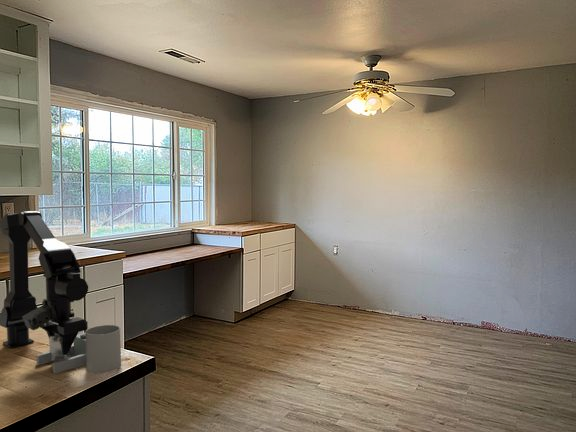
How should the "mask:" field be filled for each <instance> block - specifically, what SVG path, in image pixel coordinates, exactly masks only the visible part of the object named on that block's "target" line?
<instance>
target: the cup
mask: <svg viewBox="0 0 576 432" xmlns="http://www.w3.org/2000/svg"><path fill="white" fill-rule="evenodd" d="M84 333H85V334H86V364H85V365H86V371H87V372H88V373H90V374H106V373H111V372H113V371H117V370H118V369H120V368H121V366H122V346H121V345H122V344H121V343H122V342H121V341H122V340H121V327H120V326H119V325H115V324H114V325H113V324H104V325H103V324H102V325H97V326H93V327H90V328H88V329H87V330H85V332H84Z"/></svg>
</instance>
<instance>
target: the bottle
mask: <svg viewBox="0 0 576 432" xmlns="http://www.w3.org/2000/svg"><path fill="white" fill-rule="evenodd" d="M48 340H49V341H48V342H49V351H50V360H54V361H53V362H58V361H61V360H64V359H68V358H71V357H72V356H71V348H70V350H69V352H68V354H67V355H63V352H62V348H61V342H60V337H59V336H58V335H56V334H55V333H54V334H51V335H50V336H49V337H48Z"/></svg>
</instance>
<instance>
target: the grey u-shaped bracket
mask: <svg viewBox="0 0 576 432" xmlns="http://www.w3.org/2000/svg"><path fill="white" fill-rule="evenodd" d="M75 355H76V356H75ZM35 356H36V365H38V366H41V365H44V364H48V363H51V362H52V374H55V375H56V374H58V373H59V374H60V373H62V372H65V371H68V370H71V369H74V368H78V367H80V366H83V365H87V364H86V334H85V332H82V333H78V334H77V336H76V338H75V340H74V342H73V345H72V346H71V356H70V357H69V358H67V359H64V360H58V361H54V360H50V350H49V351H46V352H43V353H39V354H36V355H35Z"/></svg>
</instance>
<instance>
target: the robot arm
mask: <svg viewBox="0 0 576 432" xmlns="http://www.w3.org/2000/svg"><path fill="white" fill-rule="evenodd" d="M42 216H43V215H42V212H40V211H38V210H29V211H28V210H25V211H22V212H17V213H16V212H15V213H5V214H4V215H3V217H1V218H0V229H1V232H2V233H1V234H2V236H3V237H4V238H5V239H6V241H7V242H8V245H9V246H8V250H9V253H8V254H9V257H8V258H9V292H8V293H7V295H6V297H5V298H4V300H3V307H2V309H1V311H0V326H1V327H3V328H5V329H6V340H5V341H2V344H3V345H4V346H5V347H9V348H11V349H12V348H13V349H14V348H17V347H19V346H25V345H29V344H31V343H34V341H35V340H33V339H31V338H30V330H31V331H35V330H38V329H39V328H41V329H42V330H44V331H45V332H46V334H47V336H48V338H49V336H50V335H51V334H54V333H55V334H56V335H58V336H59V337H60V342H61V348H62V352H63V355H67V354H68V352H69V350H70V348H71V346H73V345H74V340H75V338H76V336H77V335H78V334H79V332H84V331H86V330H88V329H89V327H88V323H89V322H88V321H87V320H86V319H84V318H82V317H78V316H76V317H75V312H72V303H73V302H75V301H77V302H78V301H80V300H83V299H84V298H85V296H86V295H88V292H89V285H88V282H87V281H86V280H85V279H84V278H81V269H80V268H81V265H80V263H79V262H78V259H77V258H76V256H75V255H76V254H75V253H74V251H73V250H72V249H71V248H70V246H68V245H67V243H66V242H62V241H60V240H58V239H57V238H56V237H55V235H54V233H52V231H51V229H50V228H49V227H48V225H47V224H46V223H45V221H44V219H43V217H42ZM30 240H32V241H33V243H34V244H35V246H36V247H37V249H38V251H39V256H38V261H39V264H40V267H41V268H42V271H44V273H43V274H42V276H43V277H44V278H45V291H46V292H45V293H46V298H44V299H43V300H42V305H41V306H40V307H38V305H37V299H36V297H35V296H33V294H32V293H31V292H30V290H29V286H30V285H29V247H28V246H29V242H30Z"/></svg>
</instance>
